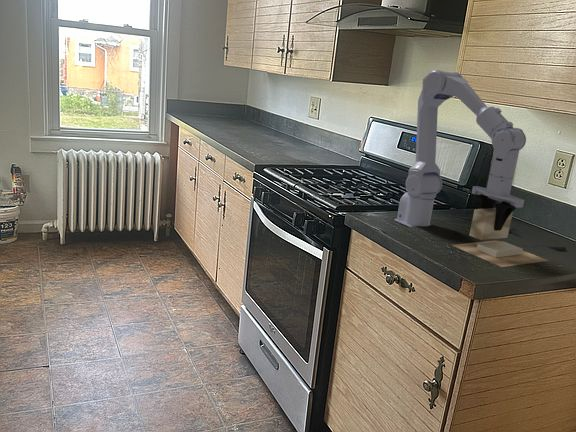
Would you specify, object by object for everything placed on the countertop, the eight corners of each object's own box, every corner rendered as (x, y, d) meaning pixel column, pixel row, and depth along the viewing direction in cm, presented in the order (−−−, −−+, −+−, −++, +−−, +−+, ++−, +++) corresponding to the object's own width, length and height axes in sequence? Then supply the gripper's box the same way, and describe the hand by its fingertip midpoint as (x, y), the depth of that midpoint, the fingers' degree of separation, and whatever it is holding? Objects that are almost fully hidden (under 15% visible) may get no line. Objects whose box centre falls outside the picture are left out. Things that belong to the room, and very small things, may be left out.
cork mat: (450, 248, 142) (451, 244, 142) (496, 243, 151) (497, 240, 151) (501, 271, 129) (502, 267, 129) (547, 264, 138) (548, 260, 138)
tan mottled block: (469, 235, 142) (474, 209, 140) (494, 233, 147) (500, 207, 145) (481, 240, 138) (487, 213, 137) (507, 237, 144) (513, 212, 142)
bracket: (527, 236, 166) (529, 227, 165) (565, 253, 152) (567, 243, 152) (488, 236, 161) (490, 227, 161) (523, 253, 148) (525, 243, 147)
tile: (477, 243, 139) (496, 251, 135) (503, 241, 145) (522, 248, 140) (476, 250, 140) (495, 258, 135) (502, 247, 145) (521, 254, 140)
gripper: (468, 169, 142) (458, 220, 146) (515, 182, 130) (503, 236, 134) (486, 169, 146) (476, 218, 149) (533, 182, 134) (521, 235, 138)
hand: (490, 227), depth 142 cm, fingers closed on tan mottled block, 4 cm apart
